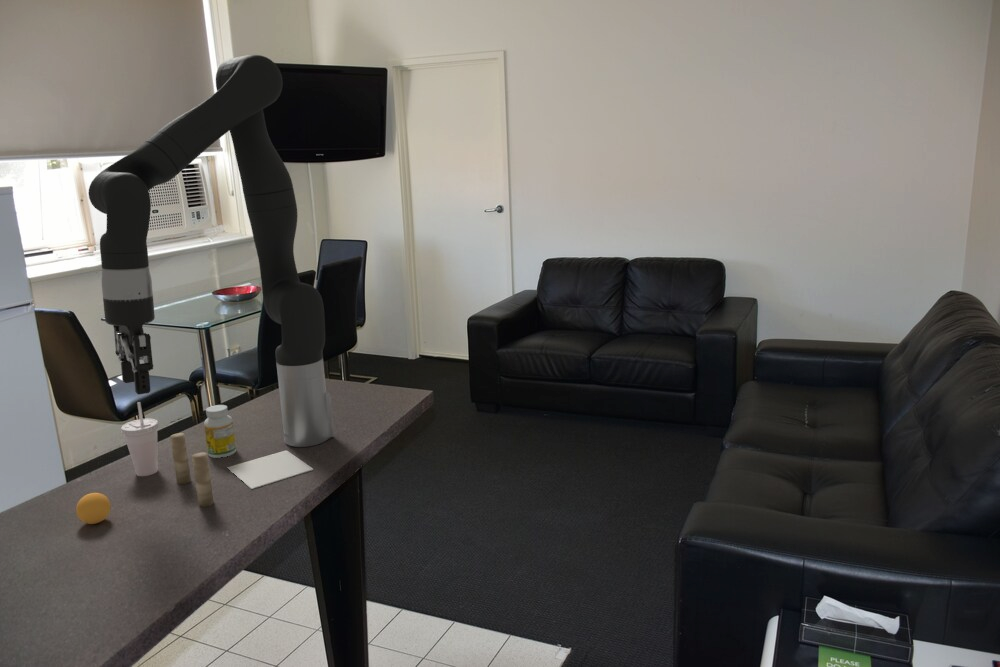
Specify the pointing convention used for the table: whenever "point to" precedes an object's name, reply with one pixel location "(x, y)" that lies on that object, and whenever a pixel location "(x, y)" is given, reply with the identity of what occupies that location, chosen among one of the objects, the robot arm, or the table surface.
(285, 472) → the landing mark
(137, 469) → the smoothie
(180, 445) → the post
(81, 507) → the ball
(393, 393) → the table surface
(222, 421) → the supplement bottle
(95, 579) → the table surface
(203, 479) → the post
